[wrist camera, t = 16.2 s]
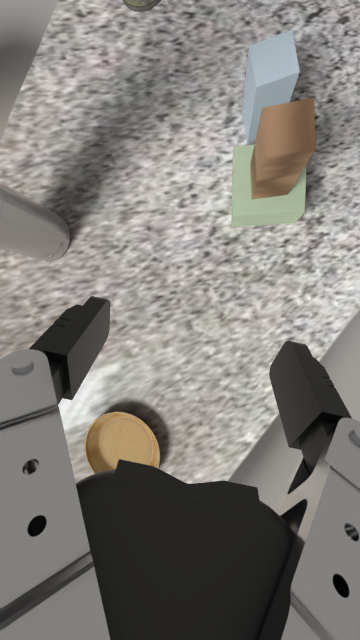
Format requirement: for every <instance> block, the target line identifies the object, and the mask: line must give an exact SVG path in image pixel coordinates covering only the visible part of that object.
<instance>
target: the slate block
mask: <svg viewBox="0 0 360 640" xmlns="http://www.w3.org/2000/svg"><path fill="white" fill-rule="evenodd" d="M299 73H300V71H299V65H298V59H297V54H296V48H295V43H294V37H293V31H292V30H289V31H287V32H284V33H281V34H279V35H276V36H274V37H271V38H268V39H266V40H263V41H261V42H258V43H256V44H253V45H250V46H249V50H248V60H247V69H246V78H245V88H244V97H243V107H242V116H243V121H244V127H245V132H246V138H247V143H249V142H252V141H255V139H256V135H257V130H258V125H259V120H260V116H261V111H262V108H263V107H268V106H274V105H279V104H284V103H289V102H290V100H291V97H292V94H293V91H294V88H295V85H296V82H297V79H298V76H299Z"/></svg>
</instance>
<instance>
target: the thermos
mask: <svg viewBox="0 0 360 640" xmlns="http://www.w3.org/2000/svg"><path fill="white" fill-rule="evenodd" d="M160 1H161V0H123V2H124V4H125V5H126V6H127V7H128V8H129V9H131V10H133V11H138V12H143V11H146V10H150V9H151V8H153V7H154V6H156V5H157V4H158V3H159V2H160Z"/></svg>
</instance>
